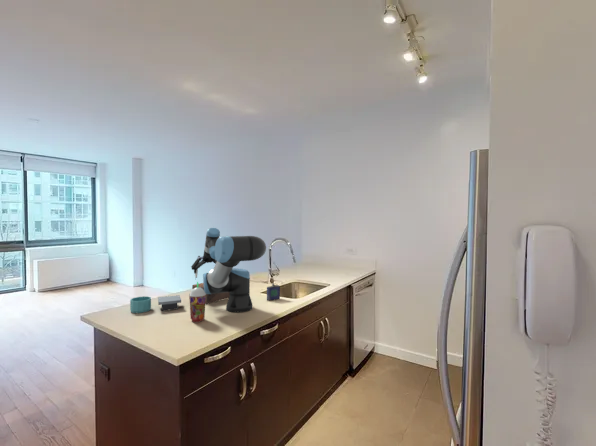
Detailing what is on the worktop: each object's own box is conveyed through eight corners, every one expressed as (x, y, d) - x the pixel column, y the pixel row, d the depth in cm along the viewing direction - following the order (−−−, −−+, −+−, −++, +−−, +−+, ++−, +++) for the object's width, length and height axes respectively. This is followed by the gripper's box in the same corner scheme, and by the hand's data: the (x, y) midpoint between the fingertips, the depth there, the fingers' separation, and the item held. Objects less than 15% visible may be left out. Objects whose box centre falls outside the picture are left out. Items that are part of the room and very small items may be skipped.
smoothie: (196, 324, 154) (196, 284, 154) (185, 321, 158) (185, 282, 158) (209, 319, 161) (209, 281, 161) (198, 316, 165) (198, 279, 165)
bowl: (150, 311, 174) (150, 300, 173) (129, 314, 169) (129, 302, 169) (150, 306, 183) (150, 295, 183) (131, 308, 178) (130, 297, 178)
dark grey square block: (177, 308, 179) (177, 302, 179) (162, 310, 175) (162, 303, 175) (176, 305, 186) (176, 298, 186) (161, 306, 183) (161, 300, 182)
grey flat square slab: (181, 302, 178) (181, 300, 178) (158, 305, 173) (158, 302, 173) (179, 297, 189) (179, 295, 189) (157, 299, 183) (157, 297, 183)
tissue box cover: (206, 304, 189) (206, 288, 189) (192, 300, 198) (192, 285, 198) (237, 295, 210) (237, 281, 210) (223, 292, 219) (223, 278, 218)
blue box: (267, 301, 197) (267, 284, 196) (265, 300, 199) (265, 283, 199) (280, 299, 201) (280, 283, 201) (278, 298, 204) (278, 282, 204)
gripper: (229, 245, 197) (224, 269, 208) (188, 247, 185) (185, 273, 196) (232, 252, 192) (227, 277, 203) (190, 255, 180) (187, 281, 191)
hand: (206, 275), depth 200 cm, fingers open, 13 cm apart
